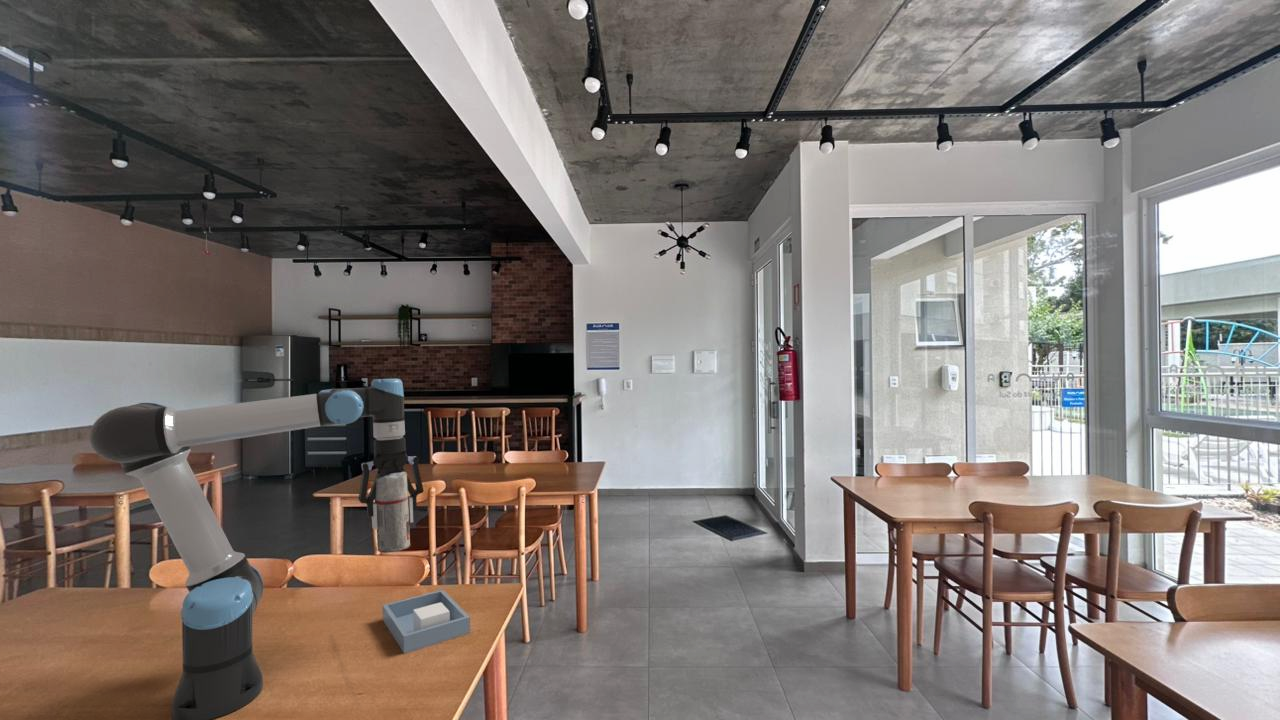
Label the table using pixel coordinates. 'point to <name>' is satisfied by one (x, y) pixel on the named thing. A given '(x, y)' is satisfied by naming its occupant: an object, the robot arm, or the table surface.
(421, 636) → the tote
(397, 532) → the grey banded cylinder
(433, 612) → the soap bar
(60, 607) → the table surface
